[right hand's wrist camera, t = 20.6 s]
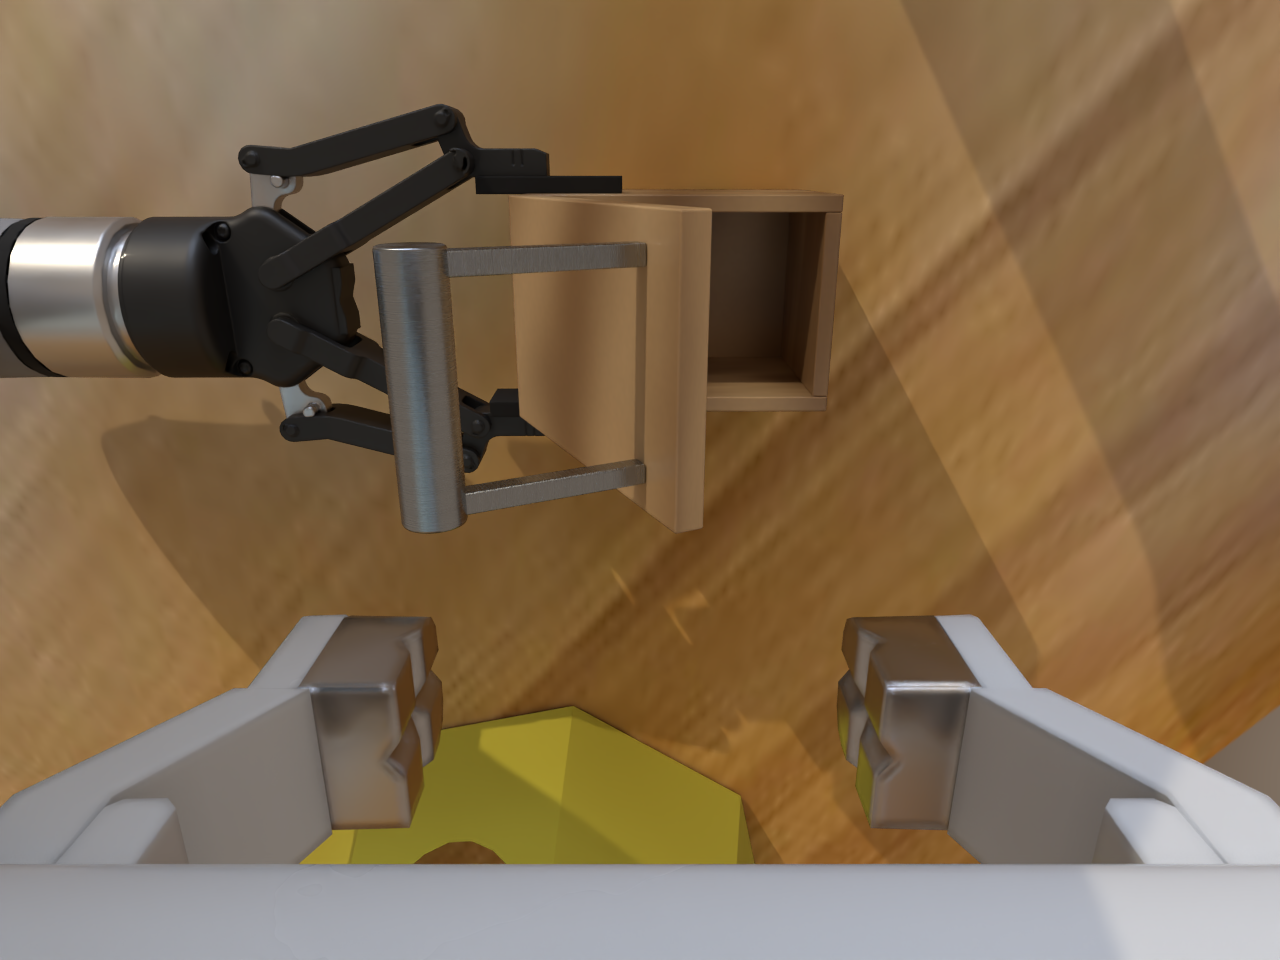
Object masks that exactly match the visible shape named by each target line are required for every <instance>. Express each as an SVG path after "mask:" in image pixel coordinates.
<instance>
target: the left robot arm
mask: <svg viewBox="0 0 1280 960" xmlns="http://www.w3.org/2000/svg"><path fill="white" fill-rule="evenodd" d="M437 141H439V144H440V146H441V148H442V151H443V153H444V155H443V156H442V157H440V158H438V159H437V160H435V161H434V162H432V163H430V164H429V165H427V166H425V167H424V168H422V169H421V170H419V171H417V172H416V173H414V174H412V175H411V176H409V177H408V178H406V179H404V180H403V181H401V182H399V183H398V184H396V185H395V186H393V187H391V188H390V189H388V190H386V191H385V192H383V193H382V194H380V195H378V196H377V197H375V198H373V199H372V200H370V201H369V202H367V203H365V204H364V205H362V206H360V207H359V208H357V209H356V210H354V211H352V212H351V213H349V214H347V215H346V216H344V217H343V218H341V219H339V220H337V221H335V222H333V223H331V224H329V225H327V226H325V227H324V228H322V229H320V230H319V231H317V232H315V231H314V230H313V229H311V228H310V227H308V226H307V225H305V224H304V223H302V222H301V221H299V220H298V219H296V218H295V217H294V216H292V215H291V214H289V213H288V212H286V211H285V210H283V209H281V206H282V201H283V199H284V198H285V197H286V196H288V195H291V194H296V193H298V192H299V191H300V190H301V189H302V186H303V177H309V176H320V175H324V174H329V173H332V172H335V171H339V170H342V169H346V168H349V167H352V166H356V165H359V164H362V163H366V162H369V161H373V160H376V159H379V158H383V157H386V156H389V155H393V154H396V153H400V152H403V151H406V150H410V149H413V148H417V147H420V146H423V145H427V144H430V143H433V142H437ZM238 160H239V164H240V165H241V167H242V168H243V169H244V170H245V171H246V172H248V173H250V183H251V197H252V208H249V209H247V210H246V211H244V212H243V213H241V214H239V215H237V216H234V217H150V218H147V219H145V220H143V221H141V220H139V219H137V218H134V217H45V218H28V219H4V218H0V378H16V377H101V378H151V377H156V376H159V375H161V374H163V375H165V376H168V377H174V378H183V377H253V378H259V379H262V380H265V381H267V382H269V383H271V384H273V385H275V386H278V387H279V388H280V393H281V397H282V401H283V405H284V409H285V413H286V419H285V420H284V421H283V422H282V423H281V425H280V433H281V435H282V436H283V437H284V438H285V439H286V440H288V441H292V442H298V441H310V440H322V439H330V440H334V441H338V442H342V443H346V444H351V445H355V446H359V447H363V448H367V449H371V450H375V451H379V452H383V453H387V454H391V455H394V446H393V437H392V427H391V418H390V414H386V413H382V412H378V411H374V410H370V409H366V408H362V407H358V406H354V405H349V404H332V402H331V400H330V398H329V397H328V396H327V395H325V394H323V393H319V392H315V391H312V390H311V389H310V388H309V387H308V386H307V384H306V381H305V380H306V379H307V378H308V377H310V376H311V375H312V374H314V373H315V372H316V371H317V370H319V369H320V368H321V367H322V366H324V367H326V368H328V369H330V370H332V371H334V372H336V373H338V374H340V375H342V376H344V377H347V378H353V379H358V380H360V381H362V382H364V383H366V384H368V385H370V386H372V387H374V388H376V389H378V390H380V391H382V392H384V393H386V394H388V390H387V380H386V371H385V362H384V352H383V349H382V348H381V347H380V346H379V345H378V344H377V343H376V342H375V341H373V340H371V339H369V338H367V337H365V336H364V335H362V334H360V333H358V332H357V329H358V328H360V327H361V326H360V317H359V311H358V308H357V306H356V303H355V300H354V298H353V290H354V284H355V274H354V265H353V263H349V261H348V259H347V257H346V255H347V254H349V253H351V252H352V251H354V250H356V249H357V248H359V247H361V246H362V245H364V244H365V243H367V242H368V241H369V240H370V239H372V238H374V237H375V236H377V235H379V234H380V233H382V232H384V231H385V230H387V229H389V228H390V227H392V226H393V225H395V224H397V223H398V222H400V221H402V220H403V219H405V218H407V217H408V216H410V215H412V214H413V213H415V212H417V211H418V210H420V209H421V208H423V207H425V206H426V205H428V204H430V203H431V202H433V201H435V200H436V199H438V198H440V197H441V196H443V195H445V194H446V193H448V192H450V191H451V190H453V189H454V188H456V187H458V186H459V185H461V184H463V183H464V182H466V181H468V180H469V179H471V178H473V177H475V183H476V194H622V176H550V169H549V154H548V153H545V152H543V151H541V150H538V149H483V148H480V147H478V146H477V145H476V144H475V143H474V142H473V141H472V139H471V137H470V134H469V132H468V129H467V127H466V124H465V118H464V116H463V114H462V113H461V112H460V111H459V110H457V109H455V108H453V107H450V106H447V105H444V104H436V105H433V106H430V107H426V108H423V109H420V110H416V111H413V112H410V113H406V114H403V115H400V116H396V117H393V118H390V119H386V120H383V121H380V122H376V123H373V124H370V125H366V126H363V127H360V128H356V129H353V130H350V131H346V132H343V133H340V134H336V135H333V136H330V137H326V138H323V139H320V140H316V141H313V142H310V143H306V144H303V145H300V146H296V147H293V148H283V147H272V146H258V145H247V146H244V147H243V148H241V150H240V152H239V155H238ZM458 397H459V410H460V423H461V436H462V449H463V462H464V473H470V472H473V471H475V470H476V469H477V468H478V466H479V464H480V462H481V460H482V458H483V456H484V454H485V452H486V450H487V445H488V442H489V440H490V439H491V438H493V437H496V436H545V435H544V434H543V433H541V432H540V431H539V430H537V429H536V428H535V427H533V426H532V425H531V424H529V423H528V422H527V421H525V420H524V419H523V418H521V417H520V412H519V392H518V389H497V391H496V392H495V394H494V396H493V397H492V399H491V400H490V402H489V403H488V402H486V401H484V400H482V399H480V398H478V397H476V396H474V395H472V394H470V393H468V392H466V391H464V390H462V389H460V388H458ZM462 432H463V433H462Z"/></svg>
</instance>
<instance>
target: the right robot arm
mask: <svg viewBox="0 0 1280 960" xmlns="http://www.w3.org/2000/svg"><path fill="white" fill-rule="evenodd" d="M437 652H438V642H437V634H436V626H435V624H434V622H433V620H432V618H431V617H401V616H347V615H314V616H305V617H302V618H301V619H300V620H299V621H298V623H297V624H296V625H295V627H294V628H293V629H292V630H291V632H290V633H289V634H288V636H287V637H286V638H285V640H284V641H283V642H282V644H281V645H280V646H279V647H278V649H277V650H276V651H275V653H274V654H273V655H272V657H271V658H270V659H269V660H268V662H267V663H266V664H265V666H264V667H263V668H262V670H261V671H260V672H259V673H258V675H257V676H256V677H255V679H254V680H253V681H252V683H251V684H250V685H249V686H248V688H233V689H231V690H229V691H227V692H225V693H223V694H221V695H219V696H217V697H215V698H213V699H211V700H209V701H207V702H204V703H202V704H200V705H198V706H196V707H194V708H192V709H190V710H188V711H186V712H184V713H182V714H180V715H178V716H175V717H173V718H171V719H169V720H167V721H165V722H163V723H161V724H159V725H157V726H155V727H153V728H151V729H149V730H146V731H144V732H142V733H140V734H138V735H136V736H134V737H132V738H130V739H128V740H126V741H124V742H122V743H120V744H117V745H115V746H113V747H111V748H109V749H107V750H105V751H103V752H101V753H99V754H97V755H95V756H93V757H91V758H88V759H86V760H84V761H82V762H80V763H78V764H76V765H74V766H72V767H70V768H68V769H66V770H64V771H62V772H59V773H57V774H55V775H53V776H51V777H49V778H47V779H45V780H43V781H41V782H39V783H37V784H35V785H33V786H30V787H28V788H26V789H24V790H22V791H20V792H18V793H16V794H14V795H12V796H11V797H10V798H9V799H8V800H7V801H6V802H5V803H4V804H3V805H2V806H1V807H0V960H1280V807H1279V806H1278V805H1277V804H1276V803H1275V802H1274V801H1273V800H1272V799H1271V798H1270V797H1269V796H1268V795H1265V794H1263V793H1261V792H1259V791H1257V790H1255V789H1253V788H1251V787H1249V786H1247V785H1245V784H1243V783H1241V782H1239V781H1237V780H1234V779H1232V778H1230V777H1228V776H1226V775H1224V774H1222V773H1220V772H1218V771H1216V770H1214V769H1212V768H1210V767H1208V766H1206V765H1203V764H1201V763H1199V762H1197V761H1195V760H1193V759H1191V758H1189V757H1187V756H1185V755H1183V754H1181V753H1179V752H1177V751H1175V750H1173V749H1170V748H1168V747H1166V746H1164V745H1162V744H1160V743H1158V742H1156V741H1154V740H1152V739H1150V738H1148V737H1146V736H1144V735H1142V734H1139V733H1137V732H1135V731H1133V730H1131V729H1129V728H1127V727H1125V726H1123V725H1121V724H1119V723H1117V722H1115V721H1113V720H1111V719H1109V718H1106V717H1104V716H1102V715H1100V714H1098V713H1096V712H1094V711H1092V710H1090V709H1088V708H1086V707H1084V706H1082V705H1080V704H1078V703H1075V702H1073V701H1071V700H1069V699H1067V698H1065V697H1063V696H1061V695H1059V694H1057V693H1055V692H1053V691H1051V690H1049V689H1047V688H1032V686H1031V685H1030V684H1029V683H1028V681H1027V680H1026V679H1025V677H1024V676H1023V675H1022V674H1021V672H1020V671H1019V670H1018V668H1017V667H1016V666H1015V664H1014V663H1013V662H1012V661H1011V659H1010V658H1009V657H1008V655H1007V654H1006V653H1005V652H1004V650H1003V649H1002V648H1001V646H1000V645H999V644H998V643H997V641H996V640H995V639H994V637H993V636H992V635H991V633H990V632H989V631H988V630H987V628H986V627H985V626H984V624H983V623H982V622H981V621H980V619H979V618H978V617H975V616H973V615H971V614H970V615H947V616H892V617H853V618H849V619H847V620H846V624H845V628H844V631H843V641H842V652H843V655H844V657H845V660H846V662H847V665H848V667H849V671H848V672H847V673H846V674H845V675H844V676H843V677H842V678H841V679H840V681H839V682H838V696H837V719H838V731H839V736H840V741H841V746H842V749H843V752H844V755H845V758H846V760H847V761H849V762H850V763H851V764H853V765H854V766H855V767H857V775H856V785H855V786H856V789H857V792H858V795H859V798H860V800H861V803H862V806H863V809H864V811H865V814H866V817H867V820H868V822H869V825H870V828H886V829H923V830H948V832H947V834H948V835H950V836H951V837H952V838H953V839H954V840H955V841H956V842H957V843H959V844H960V845H961V846H962V847H963V848H964V849H965V850H966V851H968V852H969V853H970V854H971V855H972V856H973V857H974V858H976V859H977V860H978V861H979V862H980V863H981V864H299V863H300V862H301V861H303V860H304V859H305V858H306V857H307V856H308V855H309V854H311V853H312V852H313V851H314V850H315V849H316V848H317V847H318V846H320V845H321V844H322V843H323V842H324V841H325V840H326V839H328V838H329V837H330V836H331V835H332V830H356V829H392V828H410V825H411V823H412V820H413V817H414V814H415V812H416V809H417V806H418V803H419V800H420V798H421V795H422V792H423V789H424V786H425V785H424V775H423V767H425V766H426V765H427V764H429V763H430V762H431V761H433V760H434V758H435V755H436V752H437V749H438V745H439V742H440V735H441V729H442V722H443V693H442V682H441V681H440V679H439V678H438V677H437V676H436V675H435V674H434V673H433V672H432V671H431V667H432V665H433V662H434V660H435V657H436V655H437Z"/></svg>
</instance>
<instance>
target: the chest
mask: <svg viewBox="0 0 1280 960" xmlns="http://www.w3.org/2000/svg"><path fill="white" fill-rule="evenodd" d="M523 195H539V196H552V197H566V198H579V199H593V200H607V201H620V202H634V203H647V204H661V205H674V206H688V207H701V208H710V209H712V231H711V266H710V300H709V334H708V368H707V403H706V411H826V406H827V397H826V396H827V394H828V382H829V369H830V357H831V345H832V332H833V320H834V307H835V295H836V283H837V270H838V258H839V245H840V233H841V221H842V213H841V212H842V210H843V197H844V196H843V195H841V194H832V193H824V192H815V191H807V190H622V194H523Z"/></svg>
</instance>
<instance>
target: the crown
mask: <svg viewBox="0 0 1280 960" xmlns="http://www.w3.org/2000/svg"><path fill="white" fill-rule="evenodd" d="M423 775H424V785H425V786H424V789H423V792H422V795H421V798H420V800H419V803H418V806H417V809H416V812H415V814H414V817H413V820H412V823H411V825H410V828H392V829H356V830H332V835H331V836H330V837H329V838H328V839H326V840H325V841H324V842H323V843H322V844H321V845H320V846H318V847H317V848H316V849H315V850H314V851H313V852H312V853H311V854H309V855H308V856H307V857H306V858H305V859H304V860H303V861H301V862H300V863H299V864H414V863H415V862H416V861H417V860H418V859H420V858H421V857H422V856H423V855H424V854H426V853H428V852H430V851H432V850H434V849H436V848H438V847H440V846H443V845H445V844H447V843H449V842H464V841H472V842H475V843H477V844H479V845H481V846H484V847H486V848H488V849H490V850H493V851H494V852H495V853H496V854H497V855H498V856H499V857H500V858H501V859H502V860H503V861H504V862H505V863H506V864H755V863H754V858H753V853H752V848H751V843H750V839H749V834H748V829H747V824H746V819H745V814H744V809H743V805H742V800H741V796H740V795H738V794H736V793H734V792H733V791H731V790H729V789H727V788H725V787H723V786H721V785H720V784H718V783H716V782H714V781H712V780H710V779H708V778H706V777H705V776H703V775H701V774H699V773H697V772H695V771H693V770H692V769H690V768H688V767H686V766H684V765H682V764H680V763H679V762H677V761H675V760H673V759H671V758H669V757H667V756H666V755H664V754H662V753H660V752H658V751H656V750H654V749H653V748H651V747H649V746H647V745H645V744H643V743H641V742H640V741H638V740H636V739H634V738H632V737H630V736H628V735H627V734H625V733H623V732H621V731H619V730H617V729H615V728H613V727H612V726H610V725H608V724H606V723H604V722H602V721H600V720H599V719H597V718H595V717H593V716H591V715H589V714H587V713H586V712H584V711H582V710H580V709H578V708H576V707H574V706H570V707H565V708H559V709H554V710H548V711H543V712H537V713H532V714H526V715H521V716H515V717H510V718H504V719H499V720H493V721H488V722H482V723H477V724H472V725H466V726H461V727H455V728H450V729H444V730H441V735H440V742H439V745H438V749H437V752H436V755H435V758H434V760H433V761H431V762H430V763H429V764H427V765H426V766H425V767H423Z"/></svg>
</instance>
